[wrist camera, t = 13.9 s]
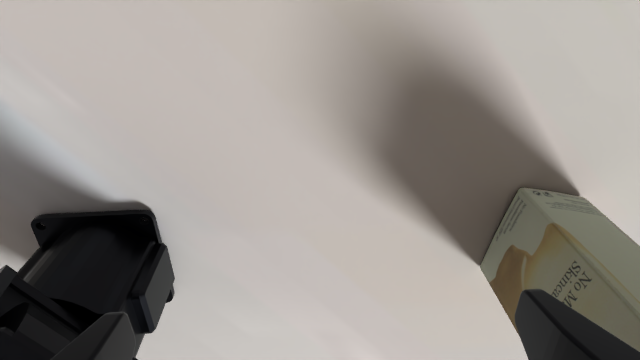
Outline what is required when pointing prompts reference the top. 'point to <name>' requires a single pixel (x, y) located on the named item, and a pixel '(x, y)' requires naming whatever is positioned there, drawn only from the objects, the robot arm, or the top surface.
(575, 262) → the skincare box
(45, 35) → the top surface
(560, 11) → the top surface
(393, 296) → the top surface
